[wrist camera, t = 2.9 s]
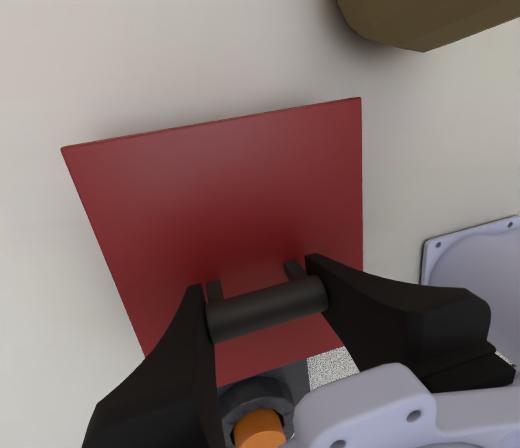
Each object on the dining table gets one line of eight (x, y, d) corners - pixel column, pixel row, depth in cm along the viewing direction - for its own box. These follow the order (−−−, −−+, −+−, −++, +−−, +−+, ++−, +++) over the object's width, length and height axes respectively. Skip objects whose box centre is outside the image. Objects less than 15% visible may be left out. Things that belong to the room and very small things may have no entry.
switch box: (300, 341, 24) (315, 371, 21) (308, 406, 27) (322, 439, 24) (177, 380, 22) (176, 418, 19) (201, 445, 25) (203, 485, 23)
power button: (276, 401, 22) (283, 424, 20) (281, 431, 23) (289, 455, 22) (229, 418, 21) (233, 442, 20) (237, 448, 23) (242, 473, 21)
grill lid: (66, 145, 11) (8, 162, 8) (352, 97, 14) (419, 92, 10) (165, 393, 17) (160, 474, 13) (357, 331, 19) (401, 386, 15)
